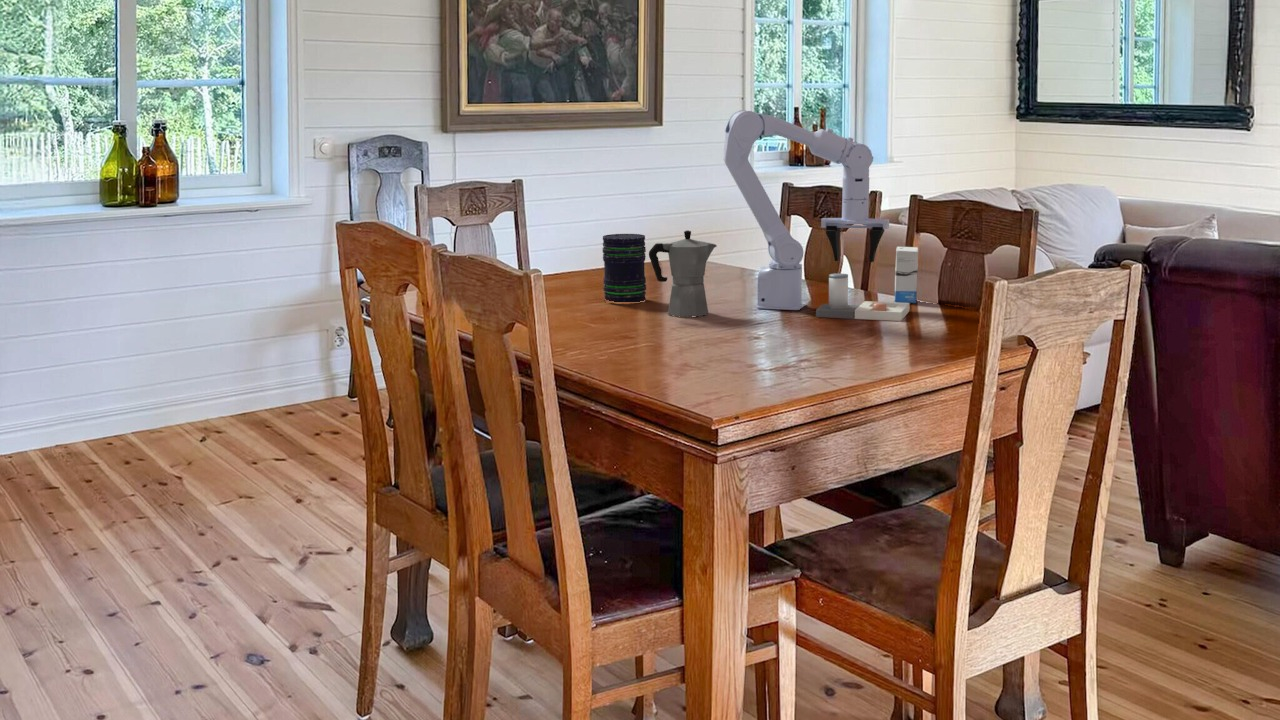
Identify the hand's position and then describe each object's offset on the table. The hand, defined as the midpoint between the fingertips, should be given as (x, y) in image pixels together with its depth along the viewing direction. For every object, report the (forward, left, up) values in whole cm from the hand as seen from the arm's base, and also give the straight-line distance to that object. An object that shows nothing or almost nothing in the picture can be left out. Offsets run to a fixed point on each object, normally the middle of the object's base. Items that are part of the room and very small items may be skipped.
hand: (854, 261), depth 280 cm
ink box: (+10, +10, -10) cm, 17 cm away
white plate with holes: (+8, -10, -10) cm, 16 cm away
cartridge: (-1, -12, -8) cm, 15 cm away
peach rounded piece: (+8, -14, -11) cm, 19 cm away
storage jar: (-51, -7, -10) cm, 53 cm away
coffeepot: (-33, -20, -10) cm, 40 cm away
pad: (-1, -12, -10) cm, 16 cm away
